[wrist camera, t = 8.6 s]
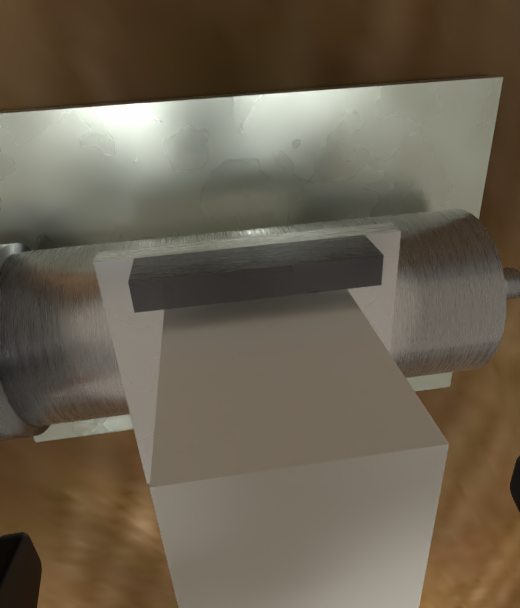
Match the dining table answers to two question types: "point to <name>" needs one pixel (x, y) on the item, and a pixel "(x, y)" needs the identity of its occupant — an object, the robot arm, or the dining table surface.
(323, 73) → the dining table surface
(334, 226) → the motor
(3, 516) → the dining table surface
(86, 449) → the dining table surface
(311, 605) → the off-white cube
